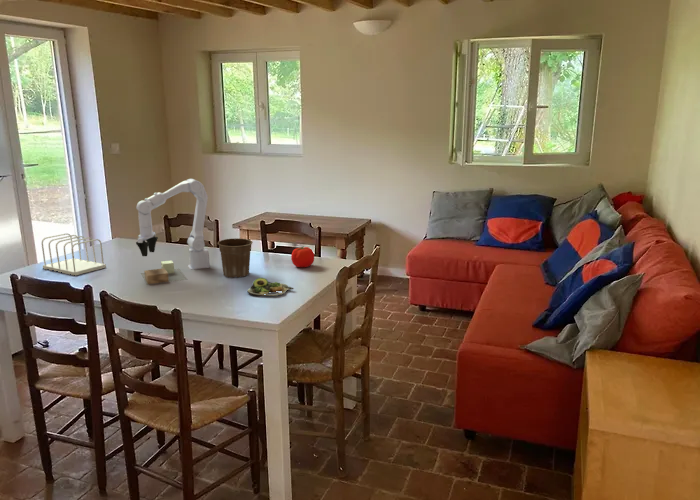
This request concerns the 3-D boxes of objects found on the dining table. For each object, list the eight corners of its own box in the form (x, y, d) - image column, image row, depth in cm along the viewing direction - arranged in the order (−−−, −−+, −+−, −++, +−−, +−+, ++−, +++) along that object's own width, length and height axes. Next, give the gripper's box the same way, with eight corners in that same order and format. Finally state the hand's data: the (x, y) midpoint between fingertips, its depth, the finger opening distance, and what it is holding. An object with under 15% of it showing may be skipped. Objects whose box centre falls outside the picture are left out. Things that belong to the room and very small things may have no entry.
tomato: (309, 262, 289) (309, 243, 286) (317, 268, 279) (317, 248, 276) (287, 265, 284) (287, 245, 281) (295, 270, 274) (295, 250, 271)
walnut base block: (165, 276, 262) (164, 268, 261) (168, 281, 254) (167, 273, 253) (145, 278, 258) (144, 270, 257) (147, 284, 250) (147, 275, 249)
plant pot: (260, 272, 270) (259, 240, 266) (239, 281, 256) (237, 247, 252) (234, 268, 278) (232, 236, 274) (212, 276, 264) (210, 243, 260)
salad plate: (298, 286, 250) (298, 276, 249) (287, 299, 233) (287, 289, 232) (257, 284, 253) (256, 274, 252) (243, 296, 236) (243, 286, 235)
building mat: (179, 269, 275) (179, 268, 274) (187, 280, 257) (187, 279, 257) (140, 274, 266) (140, 273, 266) (147, 285, 249) (146, 284, 249)
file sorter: (106, 268, 277) (103, 237, 273) (74, 276, 262) (71, 244, 258) (74, 261, 289) (71, 231, 285) (42, 269, 274) (38, 238, 270)
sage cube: (172, 270, 272) (171, 260, 270) (174, 272, 267) (173, 262, 266) (161, 271, 269) (161, 261, 268) (163, 274, 265) (162, 264, 264)
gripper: (144, 222, 269) (147, 250, 272) (130, 229, 255) (133, 257, 258) (158, 223, 268) (161, 250, 271) (144, 229, 254) (147, 258, 257)
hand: (148, 254), depth 265 cm, fingers open, 7 cm apart
